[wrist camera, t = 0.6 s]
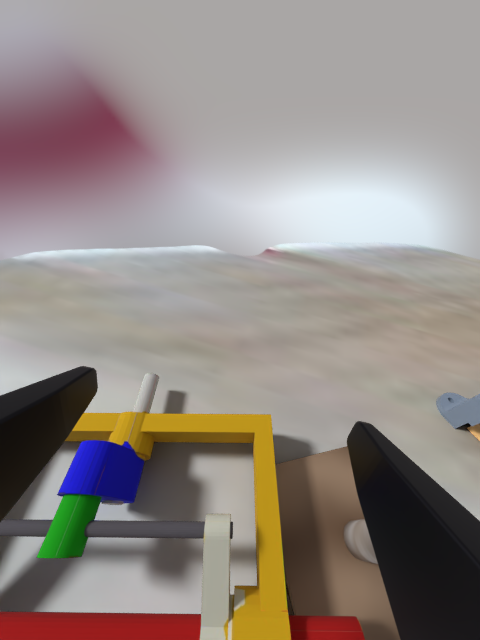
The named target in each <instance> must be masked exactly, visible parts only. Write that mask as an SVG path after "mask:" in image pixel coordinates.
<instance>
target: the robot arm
mask: <svg viewBox="0 0 480 640" xmlns="http://www.w3.org/2000/svg"><path fill="white" fill-rule="evenodd" d="M97 388H98V385H97V373H96V370H95V369H94V368H91V367H86V366H81V367H78V368H75V369H72V370H69V371H67V372H64V373H61V374H59V375H56V376H53V377H50V378H48V379H45V380H42V381H39V382H37V383H34V384H31V385H28V386H26V387H23V388H20V389H17V390H15V391H12V392H9V393H6V394H4V395H1V396H0V522H1V521H2V520H3V519H4V517H5V516H6V515H7V514H8V512H9V511H10V510H11V509H12V507H13V506H14V505H15V503H16V502H17V501H18V500H19V498H20V497H21V496H22V495H23V493H24V492H25V491H26V489H27V488H28V487H29V486H30V484H31V483H32V482H33V481H34V479H35V478H36V477H37V476H38V474H39V473H40V472H41V470H42V469H43V468H44V467H45V465H46V464H47V463H48V462H49V460H50V459H51V458H52V457H53V455H54V454H55V453H56V451H57V450H58V449H59V448H60V446H61V445H62V444H63V442H64V441H65V440H66V438H67V437H68V436H69V434H70V433H71V431H72V430H73V428H74V427H75V425H76V424H77V422H78V421H79V419H80V418H81V416H82V414H83V413H84V411H85V410H86V408H87V407H88V405H89V404H90V402H91V401H92V399H93V397H94V396H95V394H96V392H97ZM347 446H348V451H349V456H350V461H351V466H352V471H353V476H354V481H355V486H356V490H357V495H358V498H359V502H360V505H361V509H362V512H363V515H364V519H365V522H366V526H367V529H368V532H369V536H370V539H371V542H372V546H373V549H374V553H375V556H376V559H377V563H378V566H379V569H380V573H381V576H382V579H383V583H384V586H385V590H386V593H387V596H388V600H389V603H390V606H391V610H392V613H393V617H394V620H395V623H396V627H397V630H398V633H399V637H400V640H480V521H479V520H478V519H477V518H476V517H474V516H473V515H472V514H471V513H470V512H469V511H468V510H467V509H466V508H464V507H463V506H462V505H461V504H460V503H459V502H458V501H457V500H455V499H454V498H453V497H452V496H451V495H450V494H449V493H448V492H447V491H445V490H444V489H443V488H442V487H441V486H440V485H439V484H438V483H436V482H435V481H434V480H433V479H432V478H431V477H430V476H429V475H428V474H426V473H425V472H424V471H423V470H422V469H421V468H420V467H419V466H417V465H416V464H415V463H414V462H413V461H412V460H411V459H410V458H409V457H407V456H406V455H405V454H404V453H403V452H402V451H401V450H400V449H398V448H397V447H396V446H395V445H394V444H393V443H392V442H391V441H390V440H388V439H387V438H386V437H385V436H384V435H383V434H382V433H381V432H379V431H378V430H377V429H376V428H375V427H374V426H373V425H372V424H370V423H366V422H361V421H358V422H356V423H355V425H354V427H353V428H352V430H351V432H350V434H349V436H348V438H347Z"/></svg>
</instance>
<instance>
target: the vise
mask: <svg viewBox="0 0 480 640" xmlns="http://www.w3.org/2000/svg"><path fill="white" fill-rule="evenodd" d="M436 404H437V408H438V410H439V412H440V413H441V415H442V416H443V417H444V418H445V419H446V420H447V421H448V422H449V423H450V424H451V425H452V426H453V427H454V428H455V429H456V428H458V427H460V426H462V425H464V424H466V423H469V424H470V425H471V426H469V427H468V428H467V429H468V430H469V431H470V432H471V433H472V434H473V435H474V436H475V437H476V438H477V439H478V440H479V441H480V394H479V395H477V396H475V397H473V398H471V399H467V398H464V397H463V396H461V395H458V394H455V393H444V394H443V395H441V396H439V397H438V399H437V401H436Z"/></svg>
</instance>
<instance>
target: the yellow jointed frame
mask: <svg viewBox="0 0 480 640" xmlns="http://www.w3.org/2000/svg"><path fill="white" fill-rule="evenodd" d="M158 380H159V376H158V375H156V374H153V373H148V374H146V375H145V377H144V380H143V383H142V385H141V388H140V391H139V394H138V397H137V400H136V403H135V406H134V409H133V412H124V413H83V414H82V416H81V418H80V419H79V421H78V422H77V424H76V425H75V427H74V428H73V430H72V431H71V433H70V434H69V436H68V437H67V438H66V440H65V441H83V442H81V444H80V446H79V448H78V450H77V452H76V455H75V457H74V459H73V461H72V463H71V466H70V468H69V470H68V472H67V474H66V477H65V479H64V481H63V483H62V485H61V488H60V490H59V492H58V494H57V495H59V496H63V499H62V501H61V503H60V505H59V508H58V510H57V512H56V515H55V517H54V519H53V520H8V519H3V520H2V521H1V522H0V536H36V537H45V540H44V542H43V544H42V547H41V549H40V551H39V553H38V556H37V558H73V557H81V556H82V554H83V551H84V548H85V545H86V542H87V539H88V537H124V538H204V546H203V577H202V608H201V614H146V613H69V612H0V640H365V638H364V634H363V631H362V628H361V625H360V623H359V621H358V619H357V617H355V616H299V615H288V608H287V596H286V584H285V573H284V561H283V550H282V538H281V526H280V515H279V503H278V492H277V480H276V468H275V457H274V445H273V434H272V422H271V415H258V414H149V412H150V408H151V405H152V401H153V398H154V394H155V391H156V387H157V384H158ZM154 442H204V443H253V456H254V490H255V524H256V558H257V586H235V591H234V595H230V539H232V537H233V522H231V514H207V515H206V519H205V522H188V521H98V520H94V519H95V516H96V513H97V510H98V507H99V504H100V502H102V504H110V505H122V504H123V503H134V501H135V497H136V493H137V489H138V485H139V481H140V478H141V474H142V470H143V466H144V462H145V460H148V459H150V457H151V453H152V449H153V445H154Z"/></svg>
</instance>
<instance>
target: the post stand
mask: <svg viewBox="0 0 480 640" xmlns="http://www.w3.org/2000/svg"><path fill="white" fill-rule="evenodd" d="M275 468H276V480H277V492H278V503H279V515H280V526H281V538H282V550H283V561H284V573H285V579H286V583H287V587H288V592H289V596H290V600H291V605H292V609H293V613H294V615H299V616H355V617H357V619H358V621H359V623H360V625H361V628H362V631H363V634H364V638H365V640H400V637H399V633H398V630H397V627H396V623H395V620H394V617H393V613H392V610H391V606H390V603H389V600H388V596H387V593H386V590H385V586H384V583H383V579H382V576H381V573H380V569H379V566H378V563H377V559H376V556H375V553H374V549H373V546H372V542H371V539H370V536H369V532H368V529H367V526H366V522H365V519H364V515H363V512H362V509H361V505H360V502H359V498H358V495H357V490H356V486H355V481H354V476H353V471H352V466H351V461H350V456H349V451H348V446H347V447H343V448H339V449H335V450H331V451H327V452H323V453H319V454H315V455H311V456H307V457H303V458H299V459H295V460H291V461H287V462H283V463H279V464H275Z"/></svg>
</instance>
